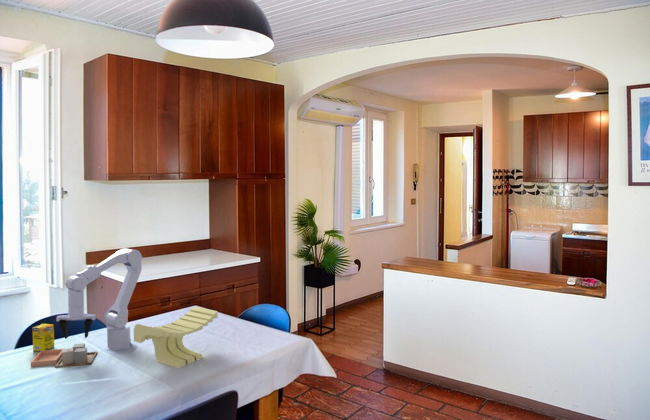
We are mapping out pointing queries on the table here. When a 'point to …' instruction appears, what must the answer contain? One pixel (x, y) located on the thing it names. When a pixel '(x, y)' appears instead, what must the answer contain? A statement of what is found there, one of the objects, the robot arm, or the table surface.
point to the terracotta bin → (47, 358)
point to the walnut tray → (89, 361)
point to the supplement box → (43, 337)
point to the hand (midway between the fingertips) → (76, 337)
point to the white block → (67, 356)
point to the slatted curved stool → (175, 336)
